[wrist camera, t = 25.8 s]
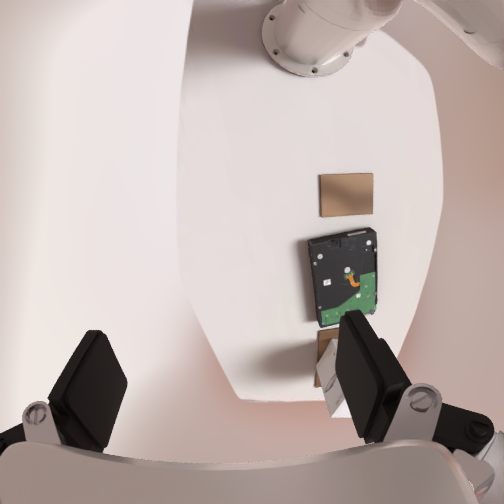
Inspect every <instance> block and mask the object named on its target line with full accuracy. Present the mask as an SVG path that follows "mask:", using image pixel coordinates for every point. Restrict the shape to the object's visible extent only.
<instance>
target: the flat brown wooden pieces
mask: <svg viewBox="0 0 504 504" xmlns="http://www.w3.org/2000/svg"><path fill="white" fill-rule="evenodd" d="M320 183H321V217H335V216H349V215H363V214H373V173H365V174H331V175H320ZM338 334H339V328H334V329H327V330H321V331H319V345H318V360H317V364H318V362H319V361H320V359H321V357H322V355H323V354H324V352H325V350H326V348H327V347H328V345H329V343H330V340H331V339H332V338H333V339H338ZM315 387H316V388H317V387H322V386H321V383H320V379H319V376H318V372H317V373H316V385H315Z"/></svg>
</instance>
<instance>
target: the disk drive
mask: <svg viewBox="0 0 504 504" xmlns="http://www.w3.org/2000/svg"><path fill="white" fill-rule="evenodd" d="M308 246H309V256H310V261H311V269H312V276H313V284H314V293H315V302H316V312H317V320H318V323H319V326H320V328H323V327H327V326H331V325H335V324H339V323H340V317H341V316H343V315H344V314H345V312H346V311H351V310H357V309H360V310H361V311H362V313H363V314H364V316H366V315H369V314H371V315H372V314H374V312H375V310H376V304H377V282H378V281H377V275H378V274H377V273H378V272H377V236H376V232H375V231H374V230H373V229H371V228H370V227H369V228H364V229H359V230H354V231H350V232H344V233H340V234H335V235H330V236H324V237H320V238H316V239H311V240H308Z"/></svg>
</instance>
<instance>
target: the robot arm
mask: <svg viewBox="0 0 504 504" xmlns="http://www.w3.org/2000/svg"><path fill="white" fill-rule="evenodd" d="M413 1H415V2H417V3H419V4H420V5H421V6H423V7H424V8H425V9H427V10H428V11H430V12H431V13H432V14H433V15H434V16H436V17H437V18H438V19H439V20H440V21H442V22H443V23H444V24H445V25H446V26H447V27H448V28H450V29H451V30H452V31H453V32H454V33H455V34H456V35H457V36H458V37H460V38H461V39H462V40H463V41H464V42H465V43H466V44H467V45H468V46H469V47H470V48H471V49H472V50H473V51H474V52H475V53H476V54H478V55H479V56H480V57H481V58H482V59H483V60H485V61H486V62H488V63H489V64H491V65H492V66H494V67H497V68H499V69H502V70H504V0H413ZM402 2H403V0H284V1H283V3H280V4H278V5H277V6H275V7H274V8H273V9H272V10H271V11H270V12H269V13H268V14H267V16H266V18H265V20H264V22H263V26H262V41H263V44H264V46H265V49H266V50H267V52H268V54H269V55H270V56H271V58H272V59H273V60H274V61H275V62H276V63H277V64H279V65H280V66H281V67H283V68H284V69H286V70H288V71H290V72H292V73H295V74H297V75H301V76H305V77H324V76H327V75H331V74H333V73H335V72H337V71H339V70H340V69H341V68H343V67H344V66H345V65H346V64H347V63H348V62H349V60H350V58H351V56H352V53H353V50H354V45H355V44H357V43H358V42H360V41H361V40H362V39H364V38H365V37H367V36H368V35H370V34H371V33H373V32H374V31H376V30H377V29H379V28H380V27H382V26H383V25H385V24H386V23H388V22H389V21H390V20H392V19H393V18H394V17H395V16H396V14H397V13H398V12H399V10H400V8H401V5H402ZM270 19H273V20H270ZM274 52H276V53H277V55H275V54H274ZM343 54H344V55H345V56H344V55H343ZM312 70H313V71H314V72H315V73H312ZM335 372H336V375H337V378H338V381H339V383H340V386H341V389H342V392H343V394H344V397H345V400H346V403H347V405H348V408H349V411H350V414H351V417H352V419H353V422H354V425H355V428H356V431H357V434H358V436H359V438H364V440H365V443H366V444H368V443H372V442H374V443H373V444H368V445H364V446H359V447H353V448H349V449H344V450H339V451H334V452H329V453H324V454H318V455H311V456H305V457H298V458H290V459H282V460H273V461H262V462H248V463H217V464H208V463H207V464H206V463H177V462H163V461H152V460H143V459H135V458H128V457H121V456H115V455H109V454H104V453H103V450H104V448H106V447H107V445H108V442H109V439H110V436H111V433H112V430H113V427H114V424H115V421H116V418H117V415H118V412H119V409H120V406H121V403H122V400H123V397H124V394H125V391H126V388H127V379H126V377H125V375H124V373H123V371H122V369H121V366H120V364H119V362H118V360H117V358H116V356H115V354H114V351H113V349H112V347H111V345H110V342H109V340H108V338H107V336H106V334H103V332H102V331H100V330H89V331H87V332H86V334H85V335H84V337H83V339H82V340H81V342H80V343H79V345H78V346H77V348H76V350H75V351H74V353H73V355H72V356H71V358H70V359H69V361H68V363H67V365H66V366H65V368H64V370H63V371H62V373H61V375H60V376H59V378H58V380H57V382H56V383H55V385H54V387H53V389H52V391H51V393H50V394H49V396H48V400H49V401H50V402H49V404H47V403H46V402H43V401H37V402H34V403H32V404H30V405H29V406H28V407H27V408H26V409H25V410H24V412H23V415H22V421H23V423H21V424H19V425H17V426H15V427H13V428H11V429H9V430H6V431H5V432H2V433H0V504H504V433H503V432H502V431H499V432H498V433H497V432H495V431H494V426H493V423H492V421H491V420H490V419H489V418H488V417H487V416H485V415H483V414H479V413H476V412H472V411H469V410H465V409H462V408H458V407H455V406H451V405H448V404H445V403H442V397H441V394H440V393H439V391H438V390H437V389H436V388H435V387H433V386H431V385H429V384H424V383H420V384H419V383H418V384H414V385H412V384H411V382H410V380H409V379H408V377H407V375H406V374H405V372H404V370H403V369H402V367H401V365H400V364H399V362H398V360H397V359H396V357H395V355H394V354H393V352H392V350H391V349H390V347H389V346H388V344H387V343H386V341H385V340H384V339H383V338H380V339H379V338H378V337H377V335H376V333H375V332H374V330H373V329H372V327H371V325H370V324H369V322H368V321H367V319H366V318H365V316H364V314H363V313H362V311H361V310H360V309H357V310H351V311H346V312H345V314H344V315H343V316H341V317H340V324H339V334H338V344H337V352H336V360H335ZM469 481H470V482H471V483H472V484H473V486H474V489H475V490H474V491H473V489H472V487H471V484H470V482H469Z"/></svg>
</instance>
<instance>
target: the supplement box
mask: <svg viewBox="0 0 504 504" xmlns="http://www.w3.org/2000/svg"><path fill="white" fill-rule="evenodd" d="M337 344H338V339H333V338H332V339H331V340H330V343H329V345H328V347H327V348H326V350H325V352H324V354H323V355H322V357H321V359H320V361H319V362H318V364H317V365H316V369H317V372H318V376H319V379H320V383H321V386H322V389H323V393H324V396H325V400H326V403H327V406H328V410H329V413H330V417H351V414H350V411H349V408H348V405H347V403H346V400H345V397H344V394H343V392H342V389H341V386H340V383H339V381H338V378H337V375H336V372H335V360H336V352H337Z"/></svg>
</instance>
